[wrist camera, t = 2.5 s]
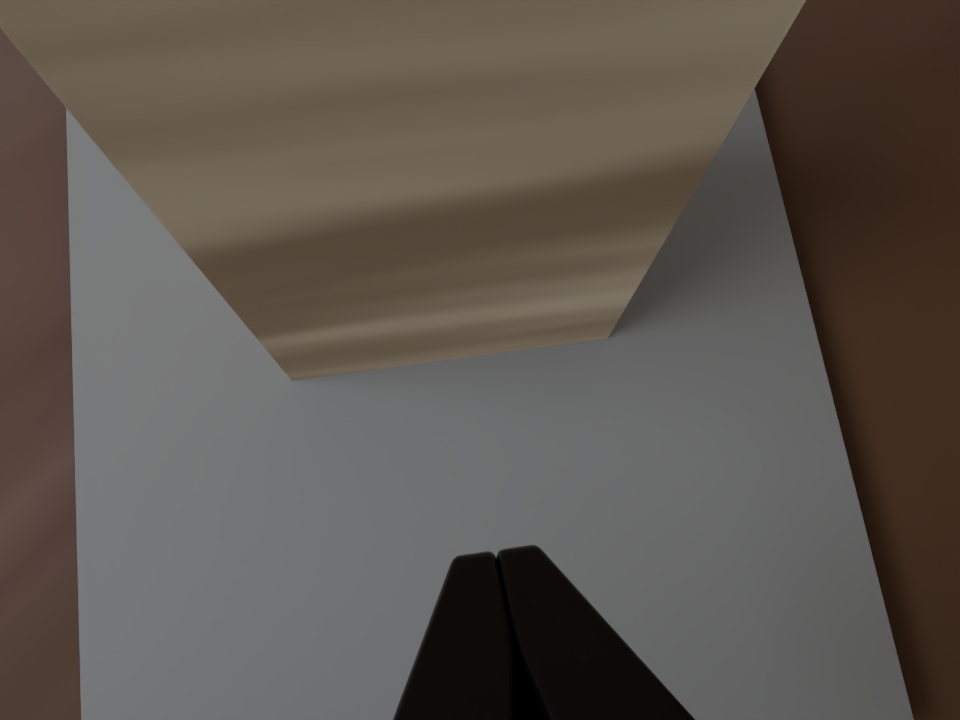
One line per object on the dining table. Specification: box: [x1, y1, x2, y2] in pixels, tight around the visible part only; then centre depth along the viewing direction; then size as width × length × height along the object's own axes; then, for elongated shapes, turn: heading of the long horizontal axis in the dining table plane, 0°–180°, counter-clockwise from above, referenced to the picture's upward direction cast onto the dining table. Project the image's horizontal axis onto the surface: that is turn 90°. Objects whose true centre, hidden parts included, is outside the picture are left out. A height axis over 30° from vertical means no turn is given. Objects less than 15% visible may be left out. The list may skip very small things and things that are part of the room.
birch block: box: [0, 0, 806, 381], centre depth 10 cm, size 4×6×14 cm
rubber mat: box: [66, 88, 914, 720], centre depth 18 cm, size 26×14×1 cm, turn 8°
